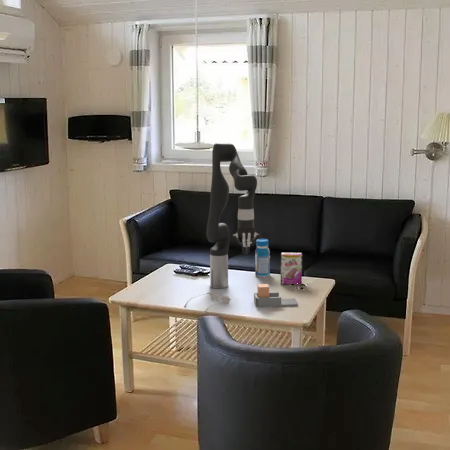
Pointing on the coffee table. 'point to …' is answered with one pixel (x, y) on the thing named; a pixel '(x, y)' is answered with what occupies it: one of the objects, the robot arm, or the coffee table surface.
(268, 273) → the beverage bottle
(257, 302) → the chute
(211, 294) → the eyeglasses
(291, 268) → the candy bar box
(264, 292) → the block
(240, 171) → the robot arm
